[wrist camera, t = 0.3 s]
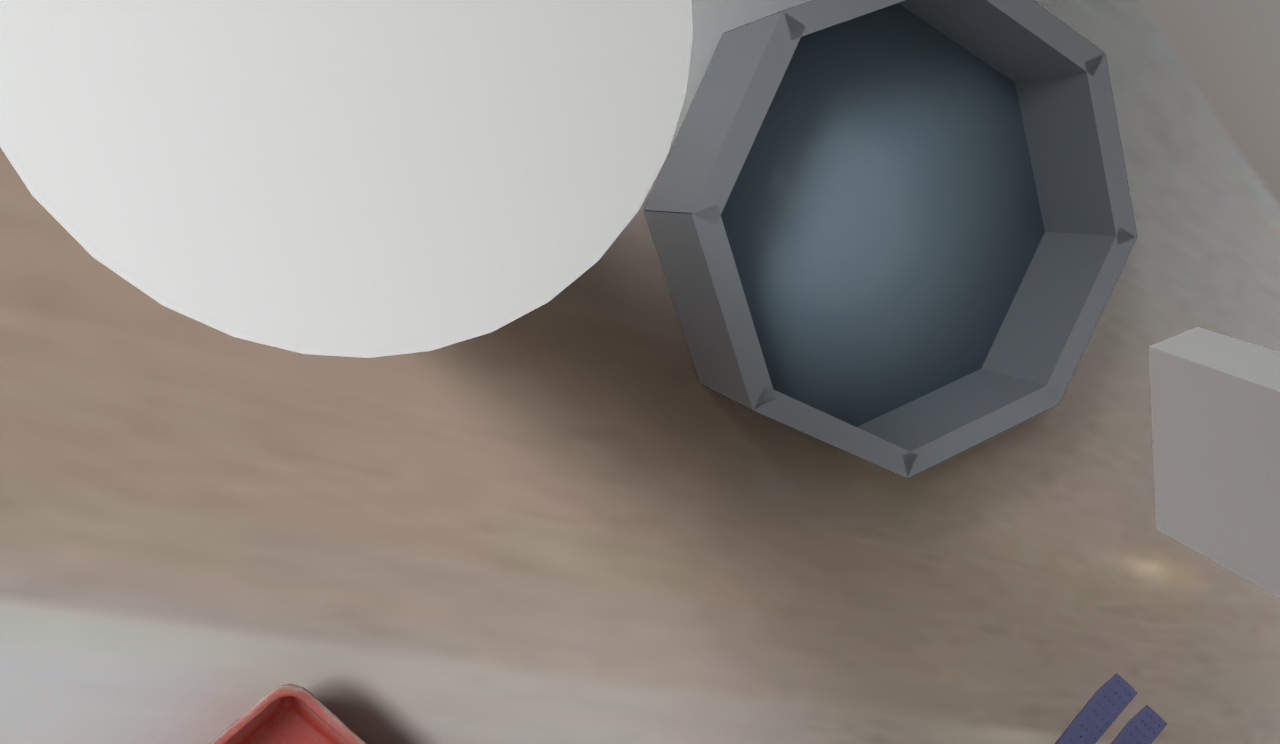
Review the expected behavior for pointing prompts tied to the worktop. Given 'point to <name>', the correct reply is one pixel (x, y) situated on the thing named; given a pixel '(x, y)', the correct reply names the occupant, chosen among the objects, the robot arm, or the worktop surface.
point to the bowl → (895, 220)
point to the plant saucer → (288, 721)
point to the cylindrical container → (344, 153)
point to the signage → (1112, 718)
